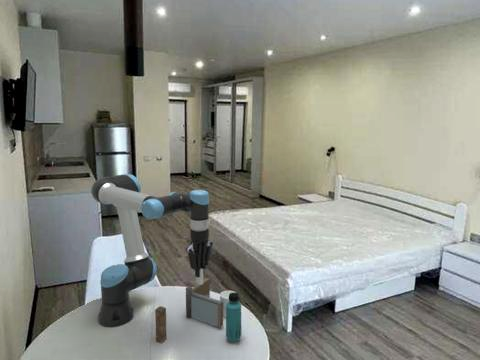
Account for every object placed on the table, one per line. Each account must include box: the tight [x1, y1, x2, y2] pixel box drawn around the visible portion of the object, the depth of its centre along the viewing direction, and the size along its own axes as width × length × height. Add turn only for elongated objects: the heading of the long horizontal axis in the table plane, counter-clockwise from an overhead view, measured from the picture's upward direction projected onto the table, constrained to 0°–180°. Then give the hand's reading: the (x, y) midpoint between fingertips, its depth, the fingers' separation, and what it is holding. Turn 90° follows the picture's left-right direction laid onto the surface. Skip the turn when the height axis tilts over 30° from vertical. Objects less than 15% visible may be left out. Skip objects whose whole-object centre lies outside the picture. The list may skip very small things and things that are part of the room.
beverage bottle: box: [225, 292, 242, 342], centre depth 139 cm, size 6×7×20 cm
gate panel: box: [191, 292, 224, 329], centre depth 151 cm, size 16×2×12 cm, turn 59°
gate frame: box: [154, 277, 211, 344], centre depth 154 cm, size 3×38×14 cm, turn 154°
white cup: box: [219, 290, 237, 319], centre depth 159 cm, size 8×8×10 cm
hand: (199, 283), depth 142 cm, fingers closed
